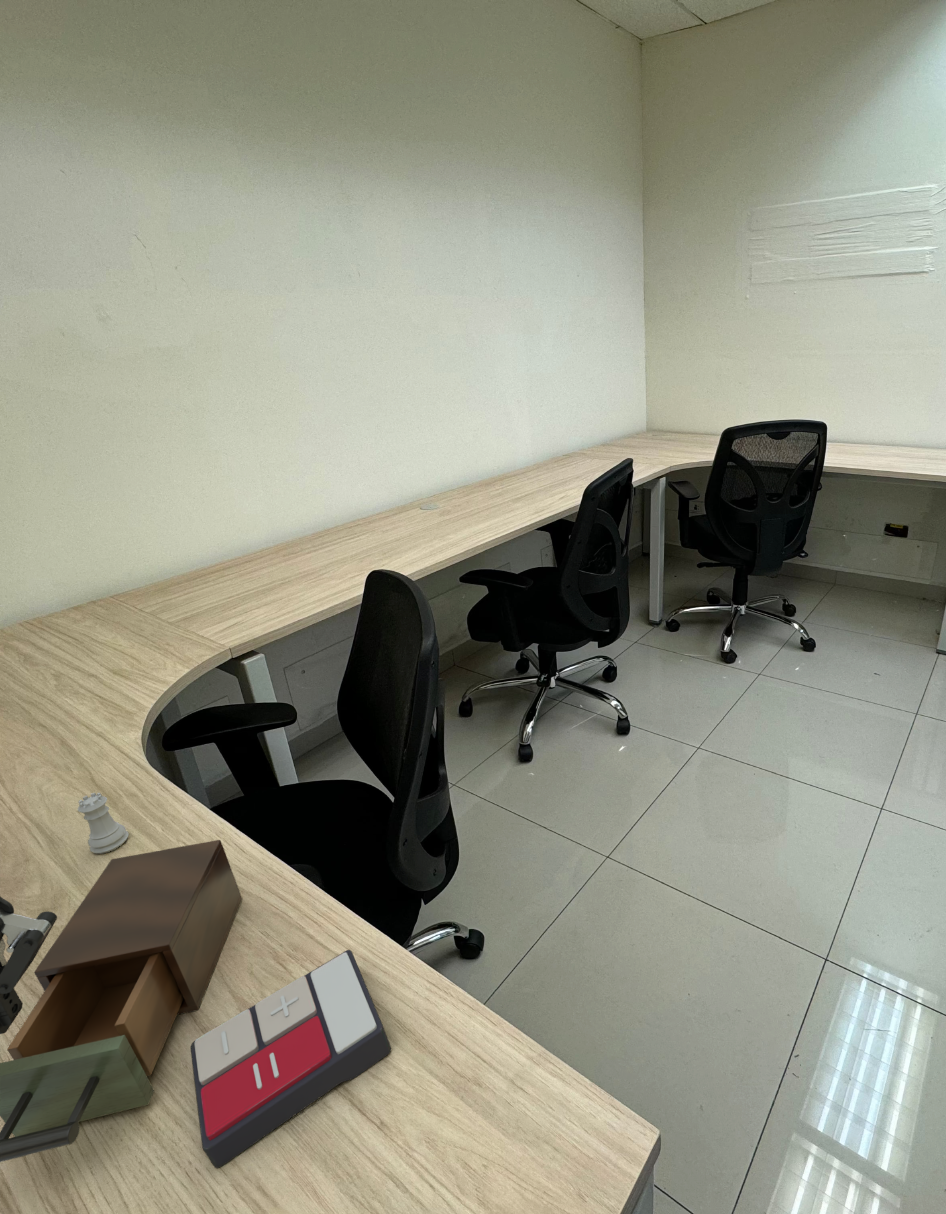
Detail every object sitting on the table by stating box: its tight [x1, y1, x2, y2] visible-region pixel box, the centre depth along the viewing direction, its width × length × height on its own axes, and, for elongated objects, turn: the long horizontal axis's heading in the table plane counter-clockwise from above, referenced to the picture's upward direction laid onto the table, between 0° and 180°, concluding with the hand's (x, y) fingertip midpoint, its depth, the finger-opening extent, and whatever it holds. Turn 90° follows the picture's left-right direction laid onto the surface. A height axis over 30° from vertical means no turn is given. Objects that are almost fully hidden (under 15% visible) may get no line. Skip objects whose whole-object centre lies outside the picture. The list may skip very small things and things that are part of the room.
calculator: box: [190, 949, 392, 1169], centre depth 59 cm, size 11×4×15 cm
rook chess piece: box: [77, 792, 130, 855], centre depth 86 cm, size 4×4×8 cm
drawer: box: [0, 952, 184, 1163], centre depth 57 cm, size 18×10×8 cm, turn 13°
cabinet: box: [33, 839, 243, 1016], centre depth 68 cm, size 15×12×10 cm
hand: (1, 1024), depth 49 cm, fingers closed
